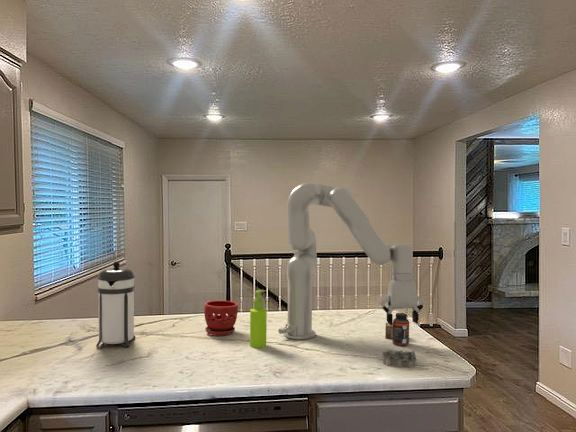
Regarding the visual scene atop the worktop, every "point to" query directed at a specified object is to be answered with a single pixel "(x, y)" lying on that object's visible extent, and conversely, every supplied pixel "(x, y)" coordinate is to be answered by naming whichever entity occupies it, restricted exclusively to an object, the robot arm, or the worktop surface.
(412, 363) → the egg carton
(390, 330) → the letter t block
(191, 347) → the worktop surface
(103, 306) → the coffee press
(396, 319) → the supplement bottle
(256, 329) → the soap dispenser
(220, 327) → the plant pot
